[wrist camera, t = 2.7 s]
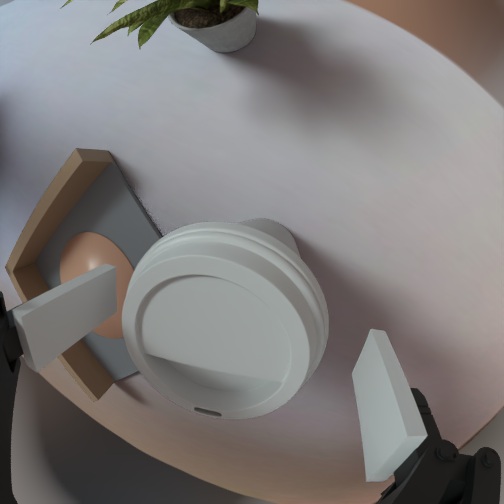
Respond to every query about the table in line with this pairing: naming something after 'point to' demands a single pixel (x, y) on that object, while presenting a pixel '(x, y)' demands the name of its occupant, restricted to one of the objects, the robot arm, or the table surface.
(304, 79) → the table surface
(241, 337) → the coffee cup
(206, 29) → the house plant
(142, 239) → the tray
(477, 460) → the robot arm
